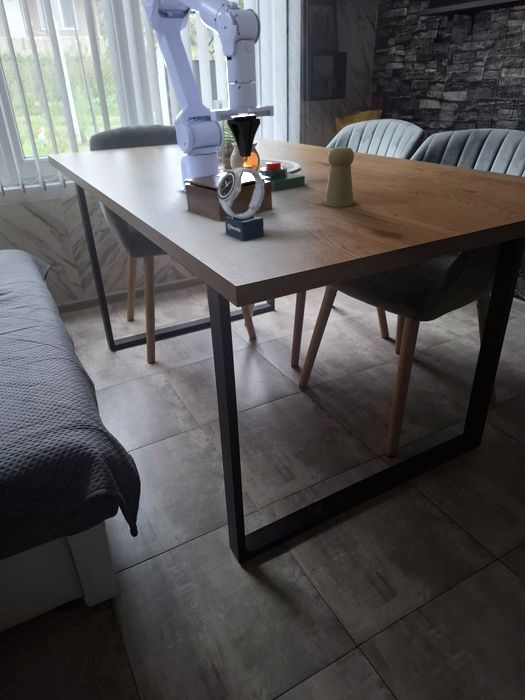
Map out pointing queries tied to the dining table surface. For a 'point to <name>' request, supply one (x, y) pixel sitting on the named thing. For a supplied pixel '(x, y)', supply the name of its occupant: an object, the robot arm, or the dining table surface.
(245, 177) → the flap
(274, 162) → the button
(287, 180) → the button box
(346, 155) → the olive green tall piece
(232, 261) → the dining table surface
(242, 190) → the carton
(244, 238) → the watch
